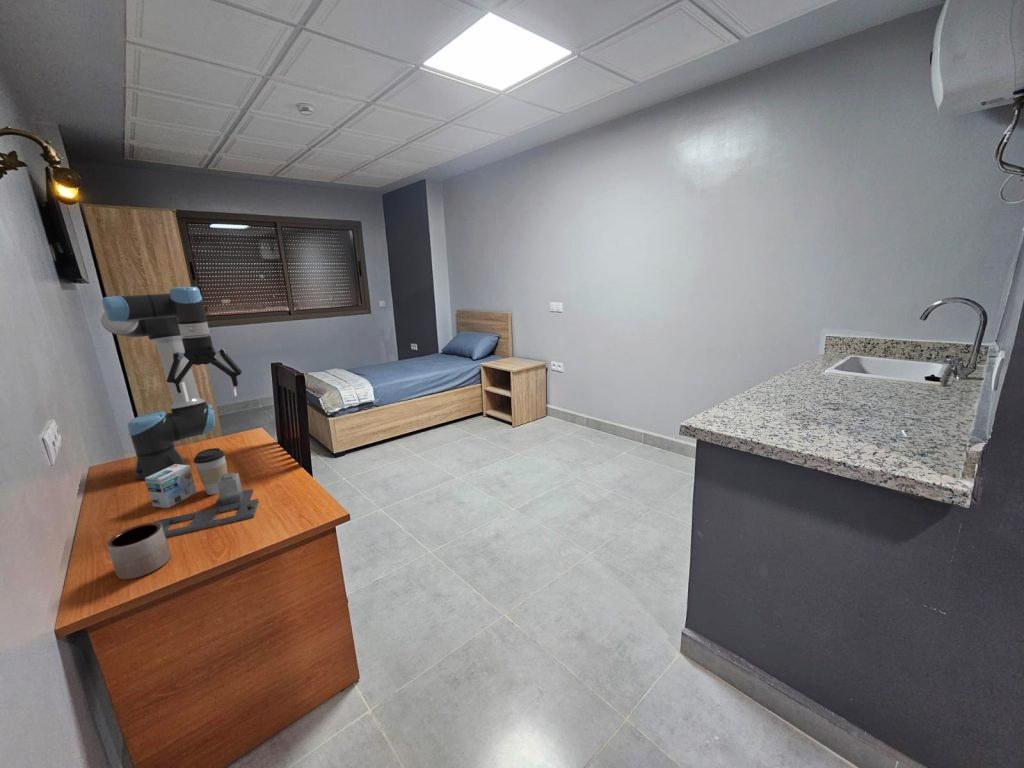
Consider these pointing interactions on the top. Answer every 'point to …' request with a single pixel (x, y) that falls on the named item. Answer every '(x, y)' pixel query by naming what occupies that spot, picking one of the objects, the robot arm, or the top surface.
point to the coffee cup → (211, 468)
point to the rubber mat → (245, 497)
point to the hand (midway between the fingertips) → (211, 398)
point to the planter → (139, 550)
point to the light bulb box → (171, 485)
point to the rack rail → (209, 518)
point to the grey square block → (230, 488)
